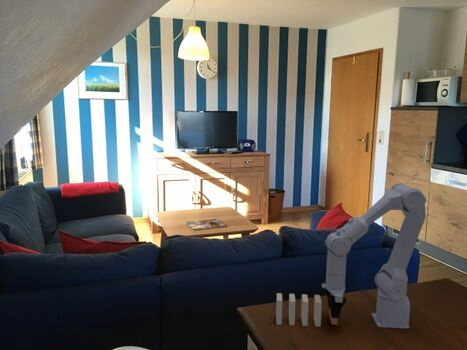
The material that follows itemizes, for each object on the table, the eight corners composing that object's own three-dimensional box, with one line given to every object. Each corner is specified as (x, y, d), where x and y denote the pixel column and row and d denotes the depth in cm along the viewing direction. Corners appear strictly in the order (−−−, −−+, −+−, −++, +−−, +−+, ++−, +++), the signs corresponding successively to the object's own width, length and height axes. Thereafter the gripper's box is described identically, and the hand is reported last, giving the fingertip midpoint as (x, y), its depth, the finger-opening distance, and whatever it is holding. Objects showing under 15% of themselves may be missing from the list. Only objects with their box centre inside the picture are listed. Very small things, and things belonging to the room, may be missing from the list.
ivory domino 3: (306, 317, 129) (307, 294, 128) (307, 326, 124) (308, 302, 123) (301, 317, 129) (301, 294, 128) (302, 325, 124) (303, 301, 123)
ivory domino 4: (318, 318, 129) (319, 295, 128) (320, 326, 124) (321, 302, 123) (313, 318, 129) (314, 294, 128) (315, 326, 124) (316, 302, 123)
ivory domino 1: (281, 316, 130) (281, 293, 129) (281, 324, 125) (282, 300, 124) (276, 316, 130) (276, 293, 129) (276, 324, 125) (277, 300, 124)
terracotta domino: (331, 324, 124) (333, 300, 122) (329, 316, 128) (330, 292, 127) (337, 324, 123) (338, 300, 122) (334, 316, 128) (335, 292, 127)
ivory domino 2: (293, 317, 130) (294, 293, 128) (294, 325, 125) (295, 301, 123) (288, 316, 130) (289, 293, 128) (289, 325, 125) (290, 301, 123)
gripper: (319, 262, 131) (317, 301, 133) (326, 281, 116) (323, 324, 119) (341, 263, 130) (339, 302, 132) (350, 282, 116) (348, 325, 118)
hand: (333, 313), depth 126 cm, fingers closed on terracotta domino, 5 cm apart
